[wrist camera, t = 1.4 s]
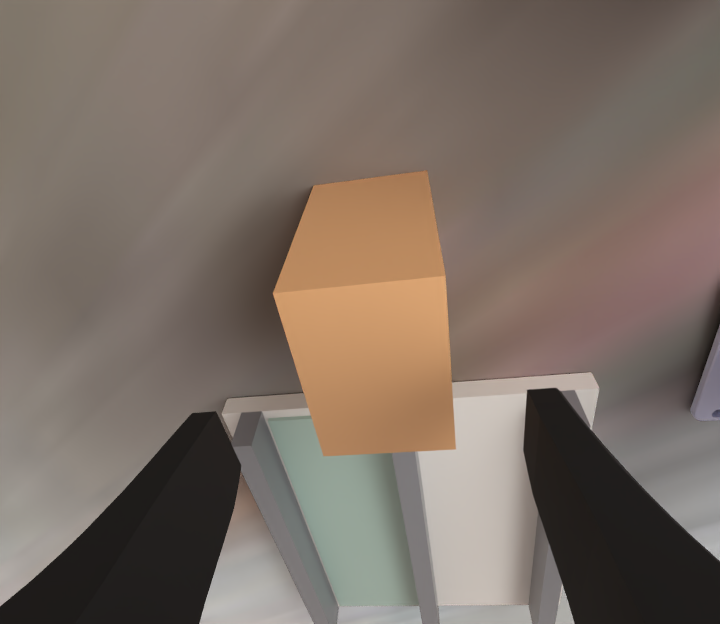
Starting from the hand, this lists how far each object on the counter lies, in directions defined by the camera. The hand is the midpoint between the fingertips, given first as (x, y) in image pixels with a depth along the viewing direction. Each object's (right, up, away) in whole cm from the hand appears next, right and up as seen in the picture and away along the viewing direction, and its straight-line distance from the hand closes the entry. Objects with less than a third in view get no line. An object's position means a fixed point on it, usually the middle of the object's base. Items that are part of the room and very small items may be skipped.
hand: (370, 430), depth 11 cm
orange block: (+1, +5, +7) cm, 9 cm away
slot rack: (+3, -9, +17) cm, 19 cm away
